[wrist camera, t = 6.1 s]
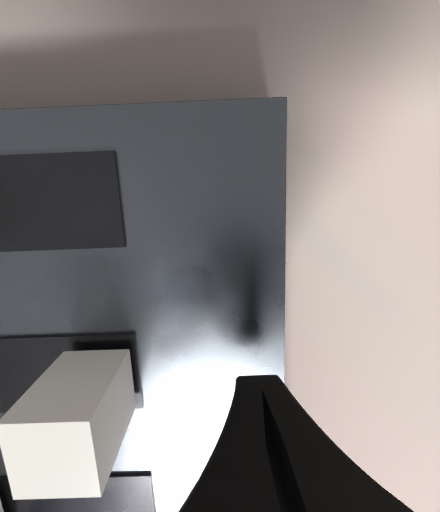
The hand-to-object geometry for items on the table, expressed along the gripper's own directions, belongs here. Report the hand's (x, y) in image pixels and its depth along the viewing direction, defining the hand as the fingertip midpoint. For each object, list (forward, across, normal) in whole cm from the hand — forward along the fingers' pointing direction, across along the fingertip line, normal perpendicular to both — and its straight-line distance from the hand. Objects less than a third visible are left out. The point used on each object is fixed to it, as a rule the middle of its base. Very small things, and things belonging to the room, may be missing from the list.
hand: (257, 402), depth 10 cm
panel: (+5, +8, 0) cm, 10 cm away
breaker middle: (+2, +6, 0) cm, 6 cm away
